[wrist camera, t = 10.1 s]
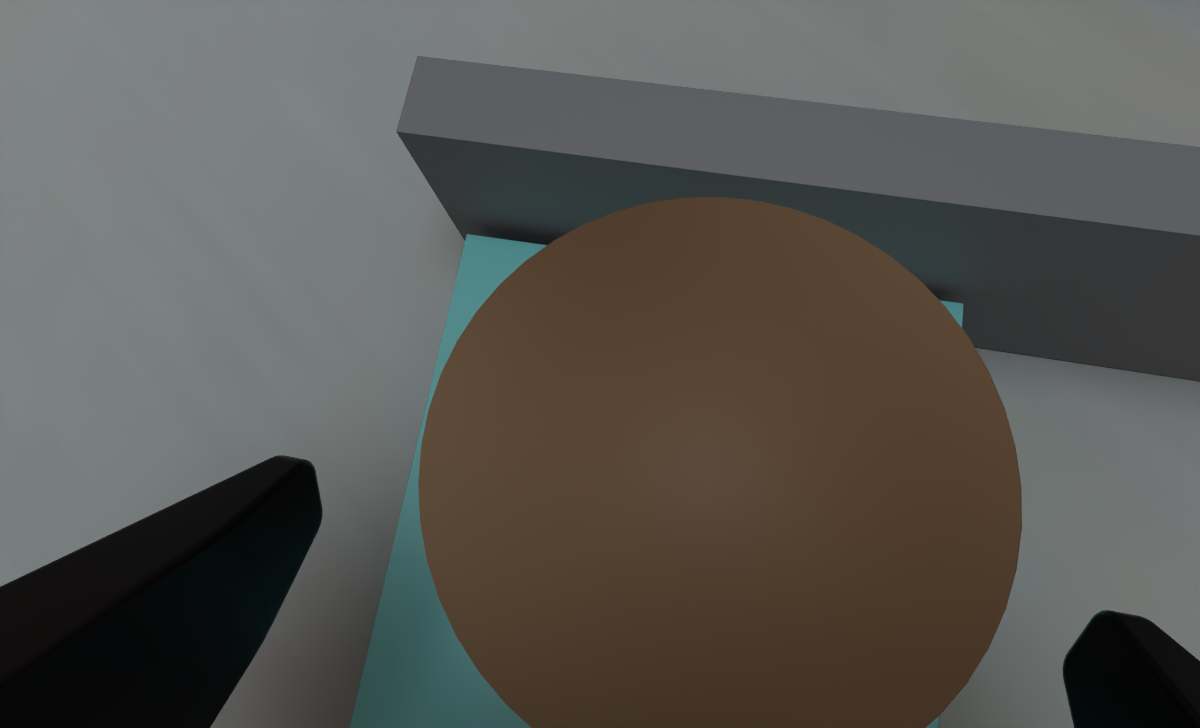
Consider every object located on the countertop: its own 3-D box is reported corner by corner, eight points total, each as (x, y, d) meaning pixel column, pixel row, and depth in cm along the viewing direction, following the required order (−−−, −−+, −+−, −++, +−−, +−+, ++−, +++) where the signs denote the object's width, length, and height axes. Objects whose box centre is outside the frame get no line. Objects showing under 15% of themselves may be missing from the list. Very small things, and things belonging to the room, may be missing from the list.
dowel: (656, 644, 16) (691, 964, 4) (549, 513, 17) (307, 437, 5) (779, 530, 16) (1157, 497, 4) (668, 408, 17) (723, 101, 5)
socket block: (859, 798, 16) (928, 887, 12) (412, 702, 17) (343, 754, 13) (895, 351, 18) (962, 303, 14) (502, 292, 19) (466, 233, 16)
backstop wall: (1341, 402, 17) (1817, 315, 10) (485, 273, 19) (396, 131, 12) (1330, 232, 18) (1753, 48, 11) (518, 129, 20) (454, -75, 13)
